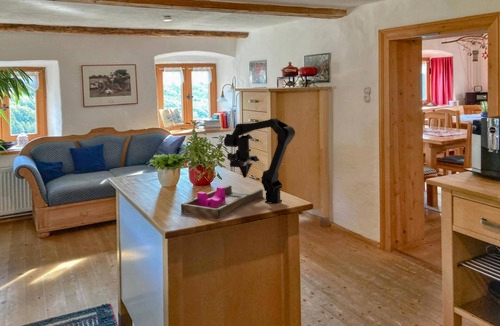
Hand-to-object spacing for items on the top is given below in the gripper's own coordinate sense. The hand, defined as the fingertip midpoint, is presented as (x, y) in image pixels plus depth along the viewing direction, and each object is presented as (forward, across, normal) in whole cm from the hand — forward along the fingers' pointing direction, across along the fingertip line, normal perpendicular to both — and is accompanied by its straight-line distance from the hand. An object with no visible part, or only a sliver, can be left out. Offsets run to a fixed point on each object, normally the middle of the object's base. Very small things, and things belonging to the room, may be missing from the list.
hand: (244, 177), depth 232 cm
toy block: (+11, +18, -8) cm, 22 cm away
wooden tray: (+11, +14, -4) cm, 18 cm away
